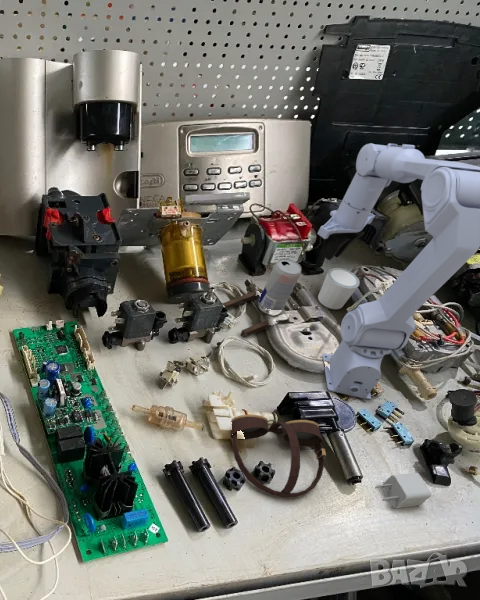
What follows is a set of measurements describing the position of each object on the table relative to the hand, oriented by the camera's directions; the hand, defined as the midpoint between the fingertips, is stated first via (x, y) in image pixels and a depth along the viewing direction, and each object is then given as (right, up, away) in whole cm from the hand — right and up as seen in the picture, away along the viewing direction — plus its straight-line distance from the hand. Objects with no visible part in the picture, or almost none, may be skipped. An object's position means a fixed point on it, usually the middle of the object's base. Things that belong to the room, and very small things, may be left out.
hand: (330, 255), depth 114 cm
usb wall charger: (-4, -42, -29) cm, 51 cm away
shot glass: (+3, -10, +5) cm, 12 cm away
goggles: (-22, -37, -26) cm, 50 cm away
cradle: (-17, -13, 0) cm, 21 cm away
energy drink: (-13, -11, +2) cm, 17 cm away
